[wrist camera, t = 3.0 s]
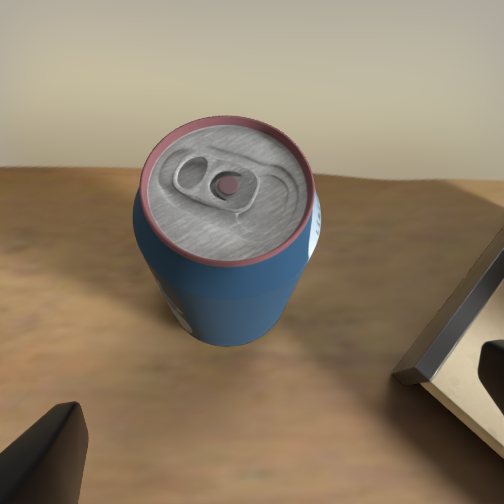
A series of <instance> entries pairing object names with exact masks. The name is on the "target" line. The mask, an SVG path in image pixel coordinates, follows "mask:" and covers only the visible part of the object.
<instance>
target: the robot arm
mask: <svg viewBox="0 0 504 504" xmlns="http://www.w3.org/2000/svg"><path fill="white" fill-rule="evenodd" d="M477 373H478V378H479V380H480V382H481V384H482V385H483V387H484V388H485V389H486V391H487V392H488V394H489V395H490V397H491V398H492V400H493V401H494V403H495V404H496V405H497V407H498V408H499V410H500V411H501V413H502V414H503V416H504V340H502V339H499V340H492V341H486V342H484V343H483V345H482V347H481V352H480V358H479V363H478V369H477ZM87 448H88V430H87V427H86V423H85V419H84V416H83V412H82V409H81V406H80V404H79V403H78V402H76V401H74V402H67V403H60V404H57V405H55V406H54V407H53V408H52V409H50V410H49V411H48V412H47V413H46V414H45V415H44V416H42V417H41V418H40V419H39V420H38V421H37V422H36V423H34V424H33V425H32V426H31V427H30V428H29V429H28V430H26V431H25V432H24V433H23V434H22V435H21V436H19V437H18V438H17V439H16V440H15V441H14V442H13V443H11V444H10V445H9V446H8V447H7V448H6V449H5V450H3V451H2V452H1V453H0V504H78V500H79V494H80V488H81V482H82V477H83V471H84V465H85V459H86V454H87Z"/></svg>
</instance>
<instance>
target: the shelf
mask: <svg viewBox="0 0 504 504" xmlns="http://www.w3.org/2000/svg"><path fill="white" fill-rule="evenodd" d="M499 339H502V340H504V227H503V228H502V229H501V231H500V232H499V233H498V235H497V236H496V237H495V239H494V240H493V241H492V242H491V244H490V245H489V246H488V248H487V249H486V250H485V252H484V253H483V254H482V255H481V257H480V258H479V259H478V261H477V262H476V263H475V265H474V266H473V267H472V268H471V270H470V271H469V272H468V274H467V275H466V276H465V278H464V279H463V280H462V282H461V283H460V284H459V285H458V287H457V288H456V289H455V291H454V292H453V293H452V295H451V296H450V297H449V298H448V300H447V301H446V302H445V304H444V305H443V306H442V308H441V309H440V310H439V311H438V313H437V314H436V315H435V317H434V318H433V319H432V321H431V322H430V323H429V325H428V326H427V327H426V328H425V330H424V331H423V332H422V334H421V335H420V336H419V338H418V339H417V340H416V341H415V343H414V344H413V345H412V347H411V348H410V349H409V351H408V352H407V353H406V354H405V356H404V357H403V358H402V360H401V361H400V362H399V364H398V365H397V366H396V367H395V369H394V370H393V371H392V373H391V374H392V375H393V376H394V377H395V378H397V379H398V380H399V381H400V382H401V383H402V384H403V385H405V386H406V385H411V384H417V383H420V384H421V385H422V386H423V387H424V388H425V389H426V390H427V391H428V392H430V393H431V394H432V395H433V396H434V397H435V398H436V399H437V400H438V401H440V402H441V403H442V404H443V405H444V406H445V407H446V408H447V409H449V410H450V411H451V412H452V413H453V414H454V415H455V416H456V417H457V418H459V419H460V420H461V421H462V422H463V423H464V424H465V425H466V426H468V427H469V428H470V429H471V430H472V431H473V432H474V433H475V434H476V435H478V436H479V437H480V438H481V439H482V440H483V441H484V442H485V443H487V444H488V445H489V446H490V447H491V448H492V449H493V450H494V451H496V452H497V453H498V454H499V455H500V456H501V457H502V458H503V459H504V416H503V414H502V413H501V411H500V410H499V408H498V407H497V405H496V404H495V403H494V401H493V400H492V398H491V397H490V395H489V394H488V392H487V391H486V389H485V388H484V387H483V385H482V384H481V382H480V380H479V378H478V373H477V369H478V363H479V358H480V352H481V347H482V345H483V343H484V342H486V341H492V340H499Z"/></svg>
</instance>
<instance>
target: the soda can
mask: <svg viewBox="0 0 504 504" xmlns="http://www.w3.org/2000/svg"><path fill="white" fill-rule="evenodd" d="M320 226H321V210H320V204H319V200H318V196H317V193H316V190H315V184H314V178H313V174H312V171H311V168H310V166H309V163H308V161H307V159H306V157H305V156H304V155H303V153H302V151H301V150H300V149H299V147H298V146H297V145H296V144H295V143H294V142H293V141H292V140H291V139H290V138H289V137H288V136H287V135H285V134H284V133H283V132H281V131H280V130H278V129H277V128H274V127H272V126H271V125H268V124H266V123H263V122H260V121H257V120H254V119H250V118H245V117H239V116H213V117H207V118H202V119H198V120H195V121H192V122H189V123H187V124H185V125H183V126H180V127H179V128H177V129H175V130H174V131H172V132H171V133H169V134H168V135H167V136H165V137H164V138H163V139H162V140H161V141H160V142H159V143H158V144H157V145H156V146H155V148H154V149H153V150H152V152H151V153H150V155H149V156H148V158H147V160H146V162H145V164H144V167H143V170H142V173H141V178H140V186H139V188H138V191H137V194H136V197H135V201H134V206H133V228H134V233H135V237H136V240H137V243H138V246H139V248H140V250H141V252H142V254H143V256H144V258H145V260H146V262H147V264H148V266H149V268H150V270H151V272H152V273H153V275H154V277H155V279H156V281H157V283H158V285H159V287H160V289H161V291H162V293H163V295H164V297H165V299H166V301H167V303H168V305H169V307H170V309H171V311H172V312H173V314H174V316H175V318H176V320H177V321H178V323H179V324H180V325H181V326H182V327H183V329H185V330H186V331H187V332H188V333H189V334H190V335H192V336H193V337H195V338H196V339H198V340H200V341H202V342H205V343H208V344H211V345H215V346H223V347H231V346H239V345H243V344H247V343H249V342H252V341H254V340H256V339H258V338H260V337H261V336H263V335H264V334H265V333H266V332H268V331H269V330H270V329H271V328H272V327H273V326H274V324H275V323H276V322H277V320H278V319H279V317H280V315H281V313H282V312H283V310H284V308H285V306H286V304H287V302H288V300H289V298H290V296H291V294H292V292H293V290H294V288H295V286H296V284H297V282H298V280H299V278H300V276H301V274H302V272H303V270H304V268H305V266H306V264H307V262H308V260H309V259H310V257H311V255H312V253H313V251H314V249H315V246H316V244H317V241H318V237H319V233H320Z"/></svg>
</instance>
